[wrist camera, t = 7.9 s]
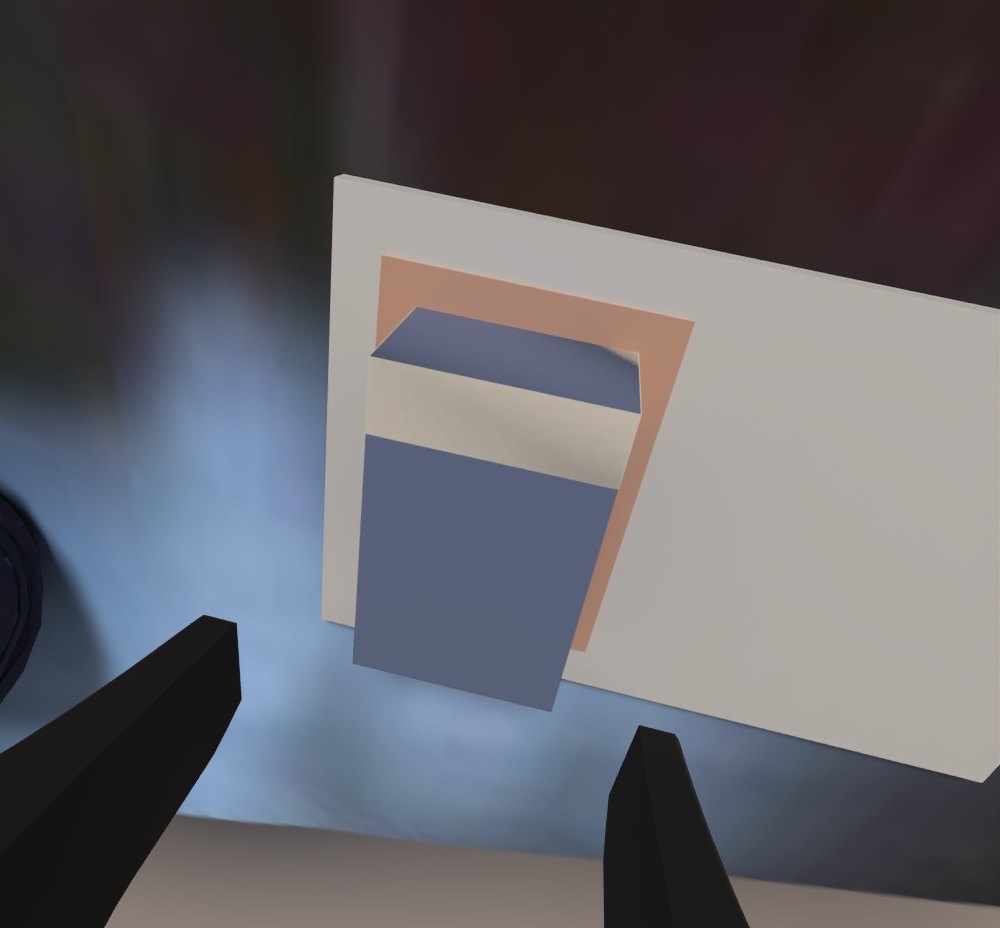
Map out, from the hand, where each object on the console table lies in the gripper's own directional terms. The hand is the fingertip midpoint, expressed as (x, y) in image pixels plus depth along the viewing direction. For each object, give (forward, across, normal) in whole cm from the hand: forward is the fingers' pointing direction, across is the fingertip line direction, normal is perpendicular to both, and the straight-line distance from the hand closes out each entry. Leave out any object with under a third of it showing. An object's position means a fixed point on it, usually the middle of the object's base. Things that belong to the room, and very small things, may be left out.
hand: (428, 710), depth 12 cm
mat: (+8, -6, 0) cm, 10 cm away
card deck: (+8, 0, 0) cm, 8 cm away
